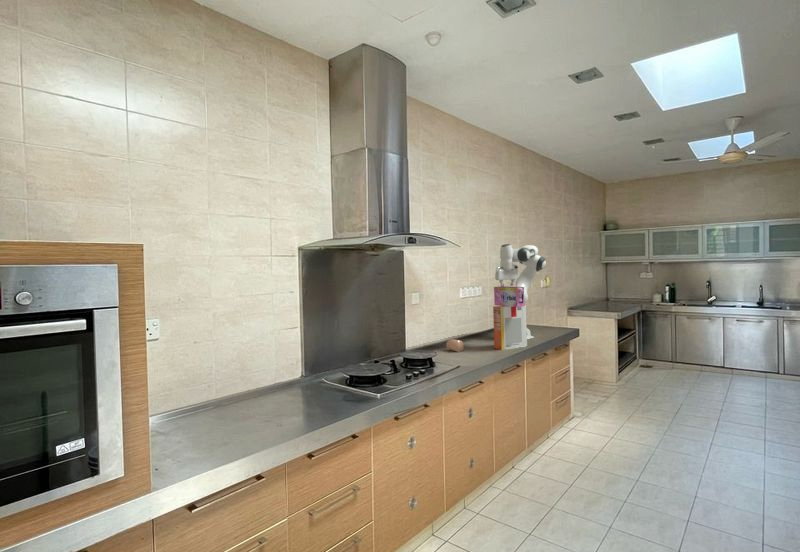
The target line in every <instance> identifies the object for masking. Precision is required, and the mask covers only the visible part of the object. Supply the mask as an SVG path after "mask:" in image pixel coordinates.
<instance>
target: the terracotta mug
mask: <svg viewBox="0 0 800 552" xmlns="http://www.w3.org/2000/svg"><path fill="white" fill-rule="evenodd" d="M464 346H465V345H464V342H463V341H462V340H461V339H454V338H449V339H447V341H446V349H447V350H448V351H451V352H458V353H460V352H462V351H464Z"/></svg>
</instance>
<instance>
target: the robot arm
mask: <svg viewBox="0 0 800 552" xmlns="http://www.w3.org/2000/svg"><path fill="white" fill-rule="evenodd" d="M538 253H539V248H538V247H537V246H535V245H534V244H533V245H532V244H527V245H523V246H521V247H520V248H519V247H518V248H513V247H512V244H511V243H506V244H502V245H501V246H500V247H499V258H500V261H499V263H500V264H499V265H500V266H498V267H496V268H495V273H494V279H495V280H496V281H499V283H500V287H501V286H503V287H505V284H504V282H503V281H507V280H510V281H511V282H510V283H509V284H510V287H524V302H525V304H526V303H527V302H528V301H529V294H528V291H529V288H530V286H531V285H532V283H533V282H534V279H535V277H536V275H537V272H540V271H541V270H543V269H545V267H546V264H547V259H546V258H545V257H544V256H541V255H539V254H538ZM515 263H519V264H521V265H524V266H525V268H524V269H523V270H522V271H521V273H520V272H519V265H516V264H515ZM515 280H516V281H515ZM514 283H515V285H516V286H514ZM531 334H532V333H531V330H530V329H529V328H528V327H527V340H530V339H534V338H535V336H533V335H531Z"/></svg>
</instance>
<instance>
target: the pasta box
mask: <svg viewBox="0 0 800 552" xmlns="http://www.w3.org/2000/svg"><path fill="white" fill-rule="evenodd" d="M492 310H493V311H492V312H493V313H492V314H493V340H494V341H493V344H494V349H495V348H496V350H499V349H500V351H506V350H513V349H518V348H519V347H521V348H527V347H528V339H527V328H528V326H527V305H526V304H525V306H521V307H512V306H498V305H494V306H492ZM526 346H527V347H526ZM505 349H506V350H505Z"/></svg>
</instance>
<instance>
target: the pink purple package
mask: <svg viewBox="0 0 800 552" xmlns="http://www.w3.org/2000/svg"><path fill="white" fill-rule="evenodd" d="M493 298H494V299H493V300H494V302H493V303H494V306H512V307H521V306H525V305H526V303H525V302H524V287H516V286H501V285H500V286H493Z"/></svg>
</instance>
